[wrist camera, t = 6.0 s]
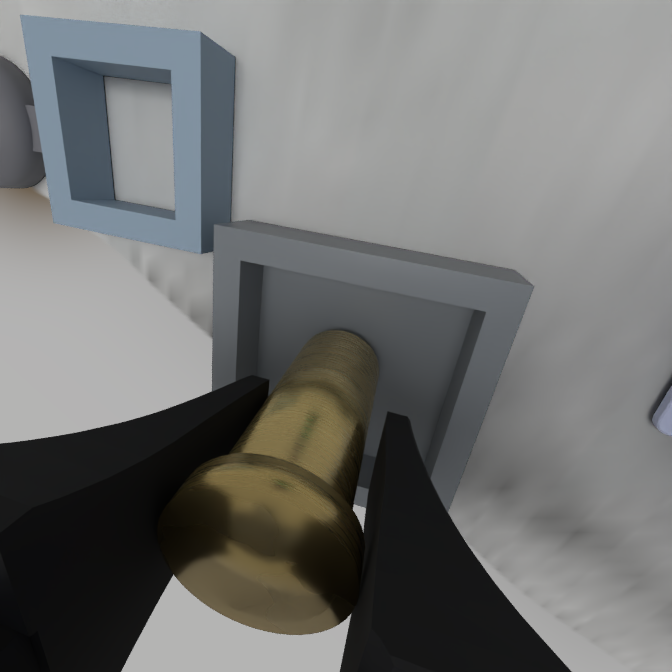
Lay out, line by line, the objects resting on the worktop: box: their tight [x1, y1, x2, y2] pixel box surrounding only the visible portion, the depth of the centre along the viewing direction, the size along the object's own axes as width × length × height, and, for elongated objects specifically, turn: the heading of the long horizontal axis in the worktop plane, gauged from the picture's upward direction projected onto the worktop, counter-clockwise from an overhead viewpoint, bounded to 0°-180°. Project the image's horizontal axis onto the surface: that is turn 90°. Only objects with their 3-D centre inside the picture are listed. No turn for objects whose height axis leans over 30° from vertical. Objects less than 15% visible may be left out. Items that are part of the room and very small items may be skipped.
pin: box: [157, 330, 379, 635], centre depth 10 cm, size 4×4×8 cm
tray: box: [212, 220, 534, 512], centre depth 14 cm, size 10×10×2 cm
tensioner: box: [0, 15, 235, 254], centre depth 13 cm, size 13×6×2 cm, turn 81°
